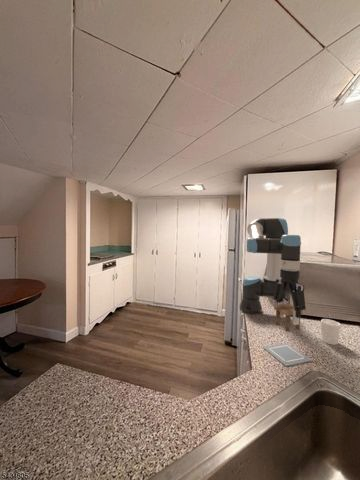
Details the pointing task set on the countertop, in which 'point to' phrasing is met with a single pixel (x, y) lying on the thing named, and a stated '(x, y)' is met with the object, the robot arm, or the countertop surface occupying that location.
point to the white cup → (330, 331)
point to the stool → (286, 310)
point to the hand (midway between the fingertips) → (287, 319)
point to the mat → (287, 354)
